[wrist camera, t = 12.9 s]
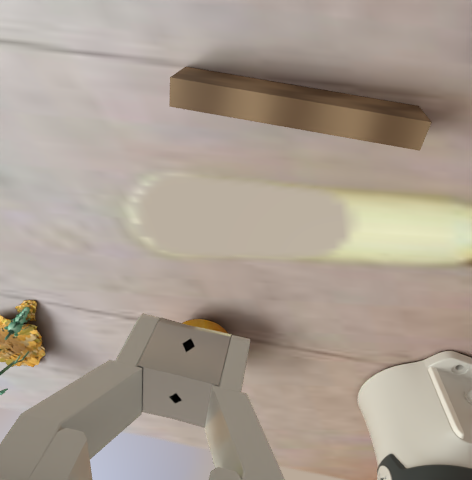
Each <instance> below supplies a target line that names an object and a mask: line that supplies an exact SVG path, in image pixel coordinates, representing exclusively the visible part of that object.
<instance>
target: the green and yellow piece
mask: <svg viewBox="0 0 472 480" xmlns="http://www.w3.org/2000/svg"><path fill="white" fill-rule="evenodd" d="M36 306H37V303H36V301H32V300H31V301H30V300H26V301H25V300H24V301H23V303H22V304H21V305H20V306H16V307H15V308H16V309H17V311H18V313H19V314H18V315H16V318H14V319H12V320H9V319H6V318H4V317H2V316H0V362H6V364H7V365H8V366H7V367H6V368H4V369H3V370H2V371H1V372H0V375H1V374H2V373H4V372H5V371H6V370H7V369H9V368H10V367H13V366H14V365H17V366H21V365H25V366H26V365H28V366H31V367H34V366H35V365H38V364H39V362H40V359H41V358H42V357H43V356H45V351H44V350H45V348H44V347H43V345H42V342H41V341H42V339H41V338H42V336H41V335H40V333H39V332H38V331H37V330H36V328H37V327H38V326H35V325H30V324H25V325H23V323H25V322H26V321H27V320H28V319H29V320H30V321H33V320H34V321H36V319H35V312H36V309H37V307H36ZM41 345H42V346H41ZM6 390H8V389H4V390H2V391H0V392H1V393H0V395H2V394H3V393H5V391H6Z"/></svg>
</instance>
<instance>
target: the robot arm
mask: <svg viewBox="0 0 472 480" xmlns="http://www.w3.org/2000/svg"><path fill="white" fill-rule="evenodd" d="M231 335H232V334H227V333H223V332H218V331H214V330H209V329H205V328H200V327H194V326H190V325H186V324H182V323H179V322H175V321H171V320H167V319H164V318H159V317H155V316H151V315H147V314H142V315H141V316H140V317H139V318H138V320H137V322H136V323H135V325H134V327H133V329H132V331H131V333H130V335H129V336H128V338H127V340H126V342H125V344H124V346H123V348H122V349H121V351H120V353H119V355H118V357H117V359H116V361H113V360H109V361H107V362H106V363H104V364H102V365H101V366H99V367H97V368H96V369H94V370H92V371H91V372H89V373H87V374H86V375H84V376H83V377H81V378H79V379H78V380H76V381H74V382H73V383H71V384H69V385H68V386H66V387H64V388H63V389H61V390H60V391H58V392H56V393H55V394H53V395H51V396H50V397H48V398H46V399H45V400H43V401H41V402H40V403H38V404H37V405H35V406H33V407H32V408H30V409H28V410H27V411H25V412H23V413H22V414H21V415H20V416H19V418H18V419H17V421H16V422H15V424H14V425H13V426H12V428H11V429H10V431H9V432H8V434H7V435H6V436H5V438H4V439H3V441H2V442H1V444H0V480H92V473H91V467H90V459H91V458H92V457H93V456H94V455H95V454H96V453H98V452H99V451H100V450H101V449H102V448H103V447H105V446H106V445H107V444H108V443H109V442H110V441H111V440H112V439H114V438H115V437H116V436H117V435H118V434H119V433H121V432H122V431H123V430H124V429H125V428H126V427H127V426H128V425H130V424H131V423H132V422H133V421H134V420H135V419H136V418H138V417H139V416H140V415H141V412H145V413H149V414H154V415H158V416H163V417H167V418H172V419H175V420H179V421H182V422H186V423H190V424H193V425H197V426H200V427H204V428H205V433H206V437H207V440H208V444H209V448H210V451H211V455H212V459H213V462H214V466H215V469H214V470H212V471H211V473H210V477H209V480H285V479H284V477H283V474H282V472H281V470H280V468H279V465H278V463H277V461H276V459H275V456H274V454H273V452H272V450H271V447H270V445H269V443H268V441H267V438H266V436H265V434H264V432H263V429H262V427H261V425H260V423H259V420H258V418H257V416H256V414H255V411H254V409H253V407H252V405H251V402H250V400H249V398H248V395H247V394H246V393H243V392H241V390H242V384H243V379H244V374H245V368H246V363H247V357H248V352H249V347H250V339H248V338H243V337H239V336H235V335H232V336H231ZM358 405H359V408H360V410H361V412H362V415H363V417H364V419H365V422H366V425H367V427H368V430H369V433H370V437H371V440H372V444H373V447H374V451H375V455H376V459H377V464H378V469H377V480H472V358H471V357H468V356H465V355H462V354H460V353H457V352H454V351H444V352H441V353H438V354H436V355H433V356H431V357H429V358H427V359H425V360H423V361H419V362H414V363H408V364H402V365H398V366H394V367H391V368H388V369H385V370H383V371H381V372H379V373H377V374H375V375H374V376H372V377H371V378H370V379H368V380H367V381H366V382H365V383H364V385H363V386H362V387H361V389H360V391H359V394H358Z"/></svg>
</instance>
